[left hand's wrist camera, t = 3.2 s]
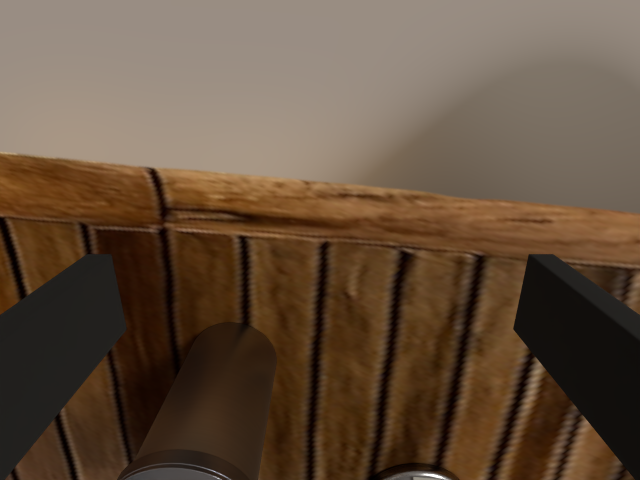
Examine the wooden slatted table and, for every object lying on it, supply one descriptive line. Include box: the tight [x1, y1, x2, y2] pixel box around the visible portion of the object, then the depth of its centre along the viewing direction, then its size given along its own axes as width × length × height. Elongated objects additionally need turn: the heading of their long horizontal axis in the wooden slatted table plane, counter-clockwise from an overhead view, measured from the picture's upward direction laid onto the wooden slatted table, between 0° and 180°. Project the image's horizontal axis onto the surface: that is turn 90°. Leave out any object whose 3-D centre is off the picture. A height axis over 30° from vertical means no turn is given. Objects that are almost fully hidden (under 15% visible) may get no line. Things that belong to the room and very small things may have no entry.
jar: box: [134, 323, 276, 480], centre depth 39 cm, size 10×10×19 cm
